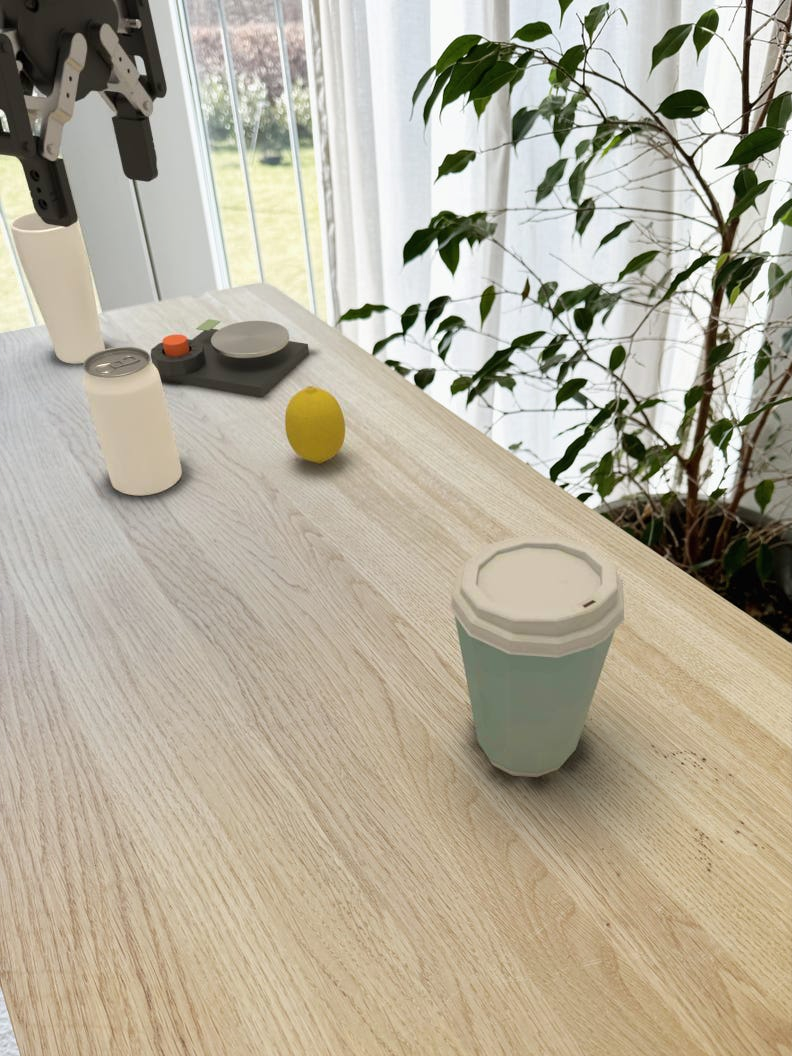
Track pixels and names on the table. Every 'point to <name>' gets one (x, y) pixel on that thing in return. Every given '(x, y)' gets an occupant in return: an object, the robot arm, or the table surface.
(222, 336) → the weighing pan
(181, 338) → the tare button
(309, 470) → the table surface
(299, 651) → the table surface
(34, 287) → the drinking glass
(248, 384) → the scale
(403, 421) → the table surface
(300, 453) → the lemon
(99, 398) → the can
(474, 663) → the disposable coffee cup
